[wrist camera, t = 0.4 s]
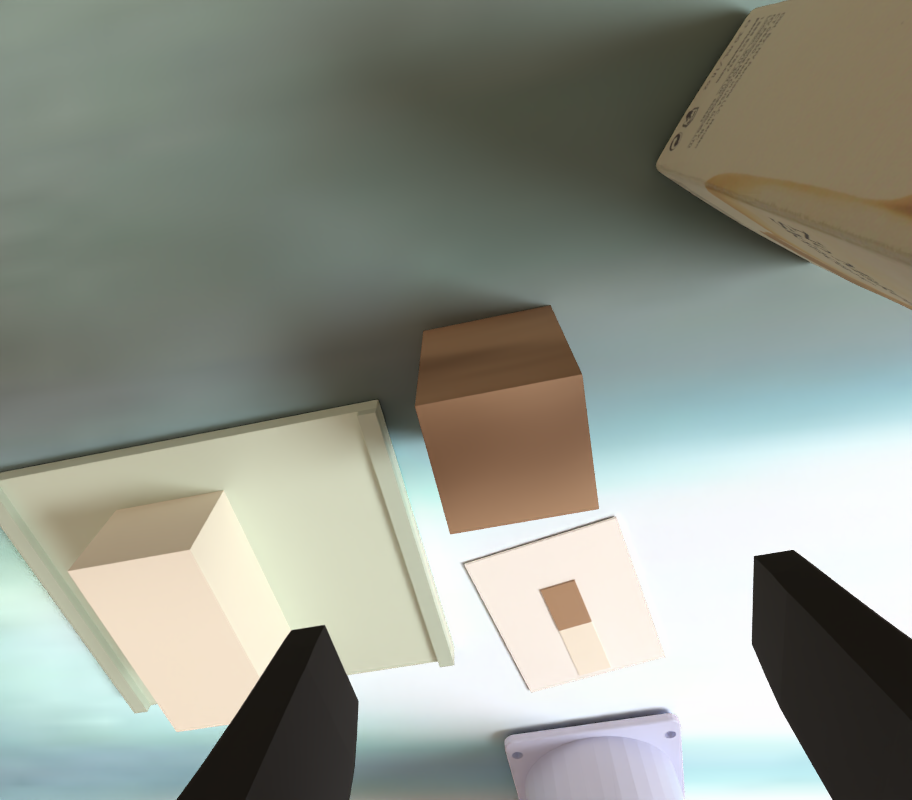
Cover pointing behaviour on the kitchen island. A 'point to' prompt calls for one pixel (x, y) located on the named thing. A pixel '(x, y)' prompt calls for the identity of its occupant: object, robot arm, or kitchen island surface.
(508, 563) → the page
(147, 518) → the base brick
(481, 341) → the walnut brick
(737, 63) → the skincare box
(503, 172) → the kitchen island surface
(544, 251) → the kitchen island surface
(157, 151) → the kitchen island surface
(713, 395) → the kitchen island surface
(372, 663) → the plate
